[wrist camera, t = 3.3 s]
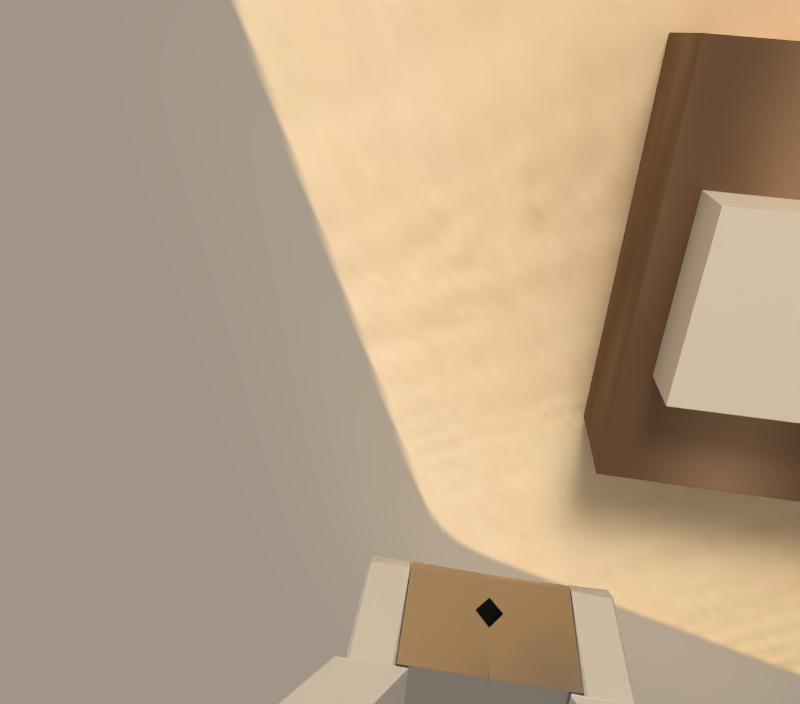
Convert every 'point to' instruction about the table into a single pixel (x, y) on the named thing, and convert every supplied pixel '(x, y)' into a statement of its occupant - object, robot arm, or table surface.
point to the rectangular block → (736, 311)
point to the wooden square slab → (664, 253)
